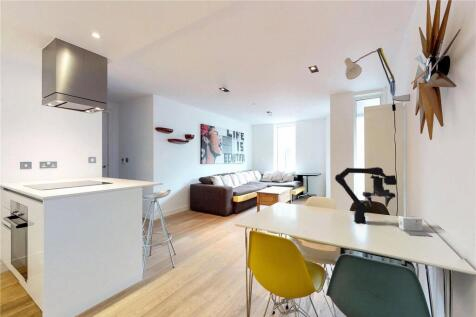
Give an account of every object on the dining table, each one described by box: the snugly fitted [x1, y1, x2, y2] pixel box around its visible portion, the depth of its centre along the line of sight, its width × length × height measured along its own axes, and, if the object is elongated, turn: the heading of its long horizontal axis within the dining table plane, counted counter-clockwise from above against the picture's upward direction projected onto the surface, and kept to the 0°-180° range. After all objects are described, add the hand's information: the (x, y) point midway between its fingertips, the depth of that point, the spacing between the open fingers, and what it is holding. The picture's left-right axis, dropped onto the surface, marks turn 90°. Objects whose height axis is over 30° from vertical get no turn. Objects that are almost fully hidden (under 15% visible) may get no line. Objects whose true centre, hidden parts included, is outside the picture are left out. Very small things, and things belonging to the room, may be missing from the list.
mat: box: [395, 224, 433, 238], centre depth 131 cm, size 11×18×1 cm, turn 164°
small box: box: [398, 215, 423, 231], centre depth 132 cm, size 8×6×10 cm
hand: (378, 206), depth 145 cm, fingers open, 9 cm apart
